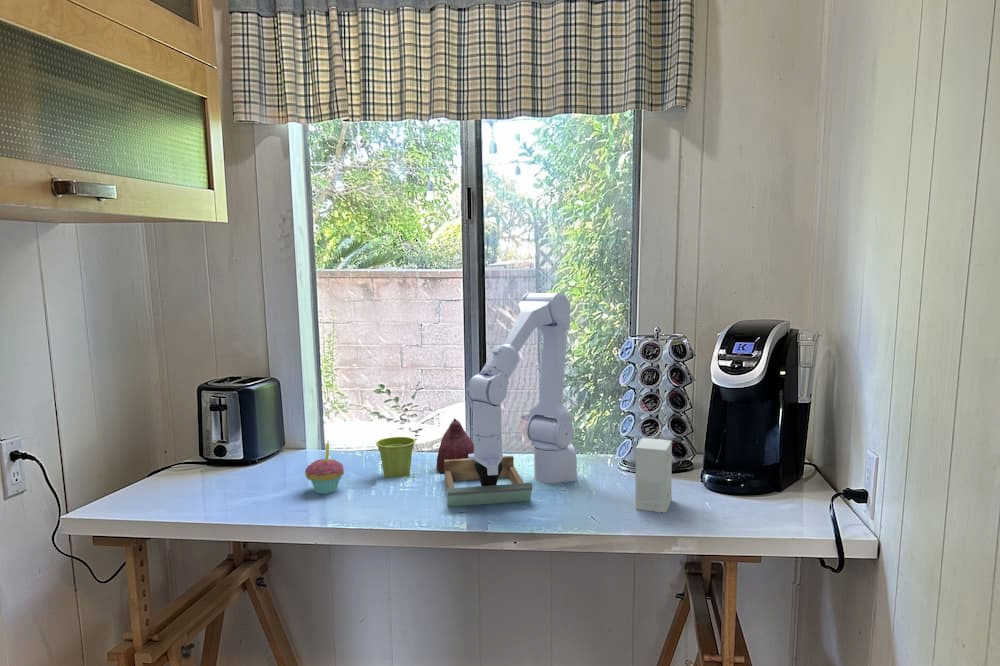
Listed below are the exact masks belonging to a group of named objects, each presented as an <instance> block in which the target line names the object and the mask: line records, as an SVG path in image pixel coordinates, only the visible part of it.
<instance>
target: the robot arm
mask: <svg viewBox="0 0 1000 666" xmlns="http://www.w3.org/2000/svg"><path fill="white" fill-rule="evenodd" d="M571 305H572V304H571V302H570V301H569V299H568V298H567V296H566V294H565V293H563V292H555V293H554V292H545V293H543V292H538V293H537V292H529V291H528V292H526V293H525V294H523V295H522V297H521V300H520V302H519V303H518V305H517V309H518V315H517V318H516V319H515V321H514V324H513V326H512V327H511V329H510V332H509V333H508V335H507V337H506V339H505V341H504V343H503V344H499V345H496V346H495V347H494V348H493V350H492V351H491V352H492V353H491V354H490V356H489V358H488V359H487V361H486V362H485V364H484V366H482V369H481V370H480V372H479V373H477V374H476V375H473V376H472V377H471V378H470V379H469V381H468V382H467V387H466V389H465V395H466V397H467V400H468V401H469V404H470V405H469V406H470V407H469V408H470V409H471V410H472V424H473V425H472V426H473V427H472V428H473V429H472V430H473V433H472V434H473V444H474V453H473V454H468V458H469V460H475V461H477V462H476V463H474V466H475V469H476V471H477V473H478V475H479V478H480V479H479V481H480V486H491V485H498V480H499V478H498V477H499V475H500V473H501V471H502V468H503V466H502V463H501V460H502V459H503V456H504V453H503V445H502V444H503V443H502V441H503V440H502V439H503V437H502V435H503V433H502V403H503V401H505V399H506V398H507V394H508V387H509V383H510V381H509V379H510V378H511V376H512V374H513V372H514V371H515V369H516V367H517V366H518V364H519V363H520V358H521V357H520V355H519V351H520V350H521V349H522V348H523V346H524V345H525V343H526V342H527V341H528V339H529V338H530V336H531V335H532V333H533V332H534V331H535V329H538V330H539V331H540V332H541V334H542V335H543V340H542V341H543V342H542V357H541V369H540V371H541V372H540V383H539V385H540V386H539V397H538V403H537V404H536V405H534V407H532V408H531V409H530V411H529V417H528V420H527V423H526V425H525V426H526V427H525V431H526V437H527V439H528V440H529V441H531V446H533V451H534V452H533V456H534V460H533V462H534V463H533V465H534V466H533V467H534V468H533V469H534V480H535V481H536V482H538V483H539V482H540V483H542V484H559V483H563V482H564V483H566V482H576V481H578V479H577V478H578V475H577V474H578V473H577V469H578V467H577V460H578V459H577V452H576V448H575V446H574V444H571V442H572V441H573V438H574V426H573V419H572V418H573V414H572V412H570V411H569V410H568V408H566V406H564V405H563V397H564V387H565V386H564V383H565V373H566V372H565V369H566V355H567V343H568V341H567V339H568V331H569V329H570V321H571V320H570V319H571V307H572V306H571Z"/></svg>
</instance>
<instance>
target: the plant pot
mask: <svg viewBox="0 0 1000 666" xmlns="http://www.w3.org/2000/svg"><path fill="white" fill-rule="evenodd" d="M415 443H416V439H415V438H413V437H409V436H393V437H386V438H381V439H380V440H379V439H378V440H377V441H376V442H375V445H376V447H377V449H378V451H379V455H380V460H381V465H382V471H383V476H384V478H385V479H388V478H389V479H391V478H392V479H393V478H405V477H406V478H408V477H409V476H410V475H411V467H412V456H413V455H412V454H413V449H414V445H415Z"/></svg>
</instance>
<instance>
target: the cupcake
mask: <svg viewBox="0 0 1000 666" xmlns="http://www.w3.org/2000/svg"><path fill="white" fill-rule="evenodd" d="M329 454H330V442H329V440H327V443H326V444H325V458H323V459H316V460H315V461H313V462H312V463H310V464H308V466H307V467H306V469H305V470H304V474H305V478H307V480H308V481H311V483H312V486H313V489H314V491H315V493H316V494H319V495H321V494H322V495H325V494H331V493H335V492H336V491H337V490H338V487H339V483H340V480H341V478H342V476H343V475H345V474H344V473H345V469H344V466H343V463H341V462H340V461H338V460H336V459H329V458H330V456H329Z"/></svg>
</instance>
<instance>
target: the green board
mask: <svg viewBox="0 0 1000 666" xmlns="http://www.w3.org/2000/svg"><path fill="white" fill-rule="evenodd" d="M532 491H533V484H532V482H524V483H520V484H512V483H510V484H509V483H508V484H497V485H491V486H481V485H478V486H466V487H465V486H464V487H454V488H446V493H447V495H446V496H447V497H446V507H448V508H449V507H461V506H462V507H463V506H474V505H487V504H488V505H489V504H502V503H515V502H530V501H531V499H532Z"/></svg>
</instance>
